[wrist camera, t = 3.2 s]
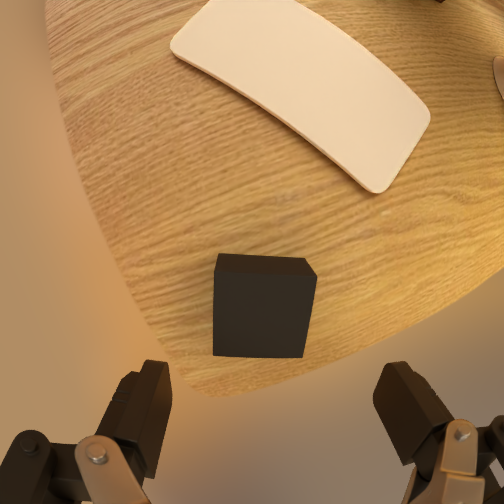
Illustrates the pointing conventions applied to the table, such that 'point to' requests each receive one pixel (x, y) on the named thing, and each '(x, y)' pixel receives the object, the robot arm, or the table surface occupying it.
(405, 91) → the smartphone
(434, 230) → the table surface
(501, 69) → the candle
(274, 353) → the dark brown square block
